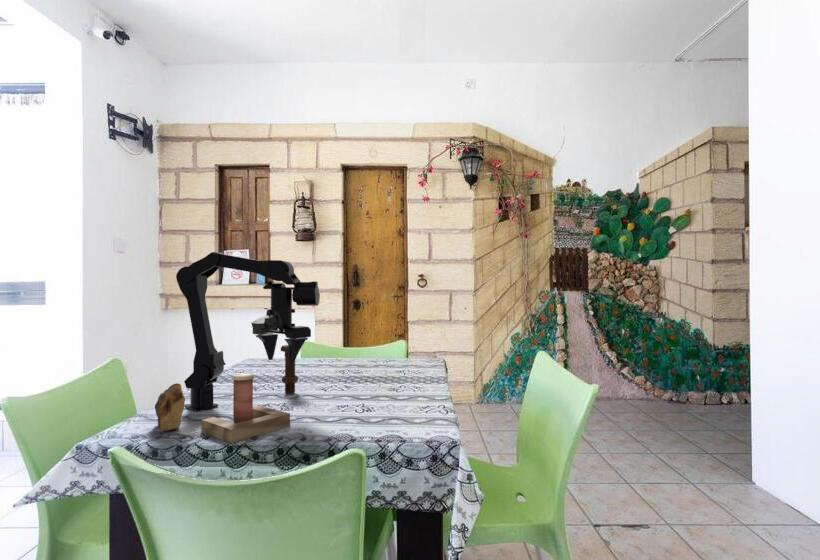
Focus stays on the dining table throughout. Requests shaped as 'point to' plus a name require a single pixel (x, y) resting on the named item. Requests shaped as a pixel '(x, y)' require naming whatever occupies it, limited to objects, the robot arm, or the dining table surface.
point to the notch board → (247, 425)
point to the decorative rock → (170, 408)
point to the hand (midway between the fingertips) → (280, 361)
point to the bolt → (289, 372)
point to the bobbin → (242, 398)
